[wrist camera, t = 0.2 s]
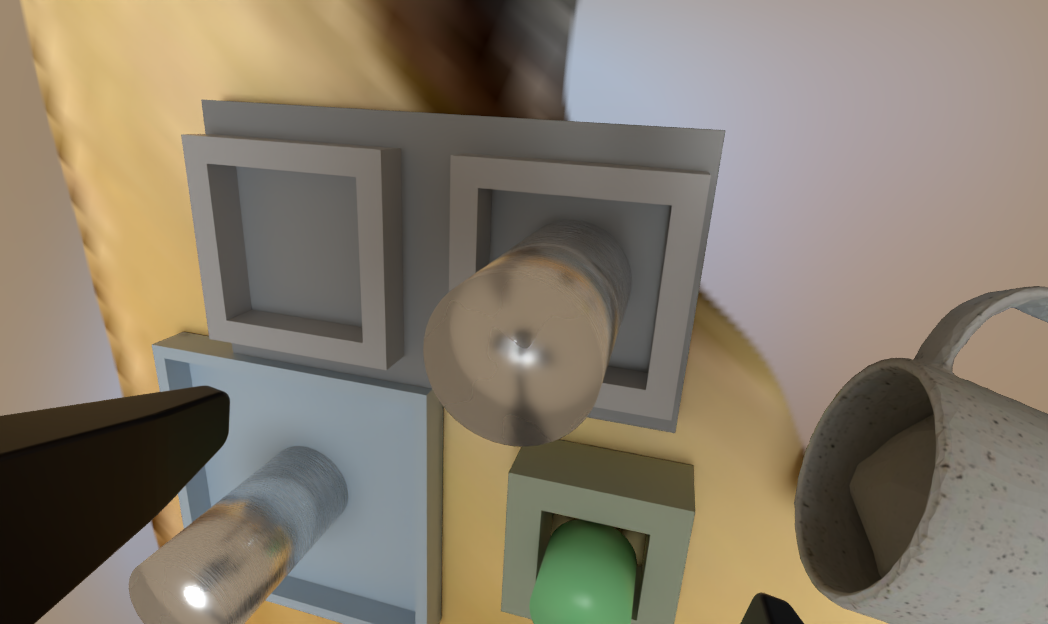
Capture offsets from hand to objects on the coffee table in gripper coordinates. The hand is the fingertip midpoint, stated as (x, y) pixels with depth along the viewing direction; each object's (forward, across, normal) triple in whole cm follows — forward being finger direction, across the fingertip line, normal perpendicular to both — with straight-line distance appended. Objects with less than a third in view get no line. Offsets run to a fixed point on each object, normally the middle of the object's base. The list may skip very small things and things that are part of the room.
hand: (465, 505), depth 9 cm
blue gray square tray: (+14, +11, +14) cm, 23 cm away
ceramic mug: (+14, -13, +1) cm, 19 cm away
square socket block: (+14, -3, +10) cm, 17 cm away
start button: (+12, -3, +10) cm, 16 cm away
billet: (+14, +11, +14) cm, 22 cm away
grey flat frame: (+14, +6, 0) cm, 15 cm away
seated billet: (+13, +1, 0) cm, 13 cm away
